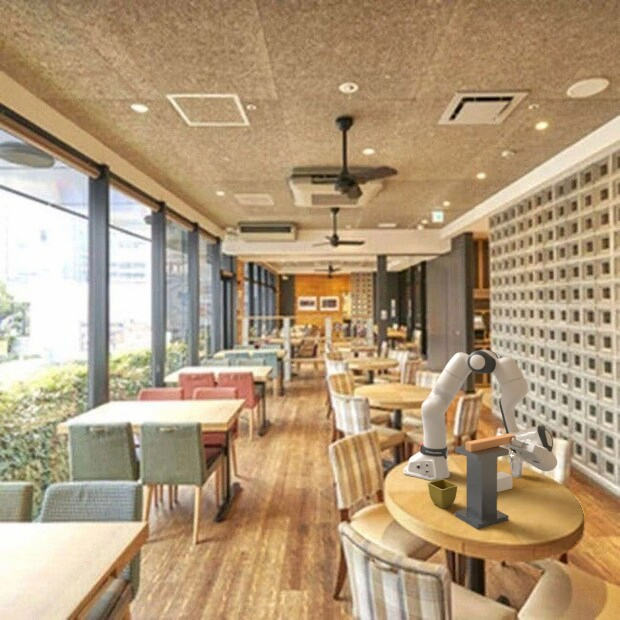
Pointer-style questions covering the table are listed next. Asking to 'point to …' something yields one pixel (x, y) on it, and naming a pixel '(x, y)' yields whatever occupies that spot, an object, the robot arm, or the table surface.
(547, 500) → the table surface
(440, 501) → the flower pot
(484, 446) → the orange-brown square bar
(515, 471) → the cup with straw
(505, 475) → the milk
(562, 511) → the table surface
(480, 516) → the pedestal
